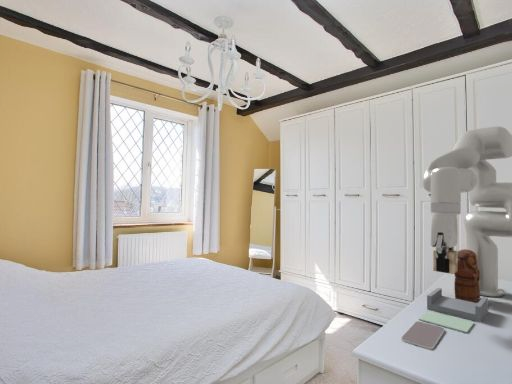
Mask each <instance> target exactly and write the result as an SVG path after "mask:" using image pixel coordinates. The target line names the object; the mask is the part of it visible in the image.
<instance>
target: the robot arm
mask: <svg viewBox="0 0 512 384" xmlns="http://www.w3.org/2000/svg"><path fill="white" fill-rule="evenodd" d="M511 157H512V133H511V132H510V131H509V130H508V129H507V128H505V127H503V126H497V125H496V126H490V127H482V128H477V129H469V130H466V131H464V132H462V133H461V134H460V135H459V137H458V138H457V140H456V142H455V144H454V146H453V148H452V150H450V151H449V152H446V153H445V154H443V155H440V156H439V157H437V158H435V159H434V160H433V161H431V162H430V163H429V164H428V166H427V168H426V170H425V171H424V174H423V176H422V186H423V187H422V188H424V190H425V191H426V192H428V193H430V214H431V215H432V218H431V229H430V246H431V247H432V248H435V250H436V271H435V272H437V271H438V272H437V273H443V272H444V273H445V274H449V259H448V252H449V250H454V251H455V247H456V246H457V244H458V237H459V236H458V217H457V215H461V214H462V213H461V212H462V211H461V210H462V209H461V207H462V205H461V202H462V201H461V199H462V197H461V195H462V194H463V193H468V196H469V198H468V199H469V203H470V205H471V206H473V207H477V208H490V209H492V208H493V209H494V208H495V209H504V210H505V211H498V210H497V211H494V210H473V211H470V212H467V213H466V214H465V216H464V218H463V222H464V227H465V234H466V246H467V249H466V250H471V251H473V252H474V253H475V254H476V259H477V266H478V268H477V269H478V270H479V273H480V278H479V281H478V283H479V289H480V294H479V295H480V296H482V297H491V298H493V297H497V298H498V297H502V296H504V291H503V290H501V289H499V260H498V258H499V255H498V254H499V251H498V250H499V249H498V247H497V244H496V243H495V242H494V240H492V238H491V237H497V238H498V237H501V238H512V182H498V181H497V170H496V168H495V167H494V166H493V165H492V164H491V163H490V162H489V161H487V160H500V159H501V160H502V159H508V158H511ZM444 250H445V251H444Z"/></svg>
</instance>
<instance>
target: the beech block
mask: <svg viewBox="0 0 512 384" xmlns="http://www.w3.org/2000/svg"><path fill="white" fill-rule="evenodd" d="M432 251H433V252H432V253H433V255H432V256H433V268H432V269H433V272H437V273H439V272H438V271H436V249H434V250H432ZM444 251H445V250H444ZM458 251H459V250H455V249H454V250H449V252H448V259H449V273H448V274H451V275H455V274H454V273H456V272H457V271H458ZM442 273H444V272H442Z"/></svg>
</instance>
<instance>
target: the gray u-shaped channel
mask: <svg viewBox="0 0 512 384" xmlns="http://www.w3.org/2000/svg"><path fill="white" fill-rule="evenodd" d="M442 292H443V289H442V288H440V287H437V288H435V289H434V290H433V291H431V292H430V293H429V294H426V308H427V309H426V310H429V309H430V310H429V311H433V310H434V311H433V312H437V311H438V312H437V313H440V314H444V315H448V316H452V317H456V318H460V319H464V320H468V321H472V322H473V321H474V322H477V323H481V322H482V321H483V320H484V318H485V317H486V315H487V313H488V312H489V306H488V305H489V304H488V303H489V300H488V296H482V298H481V299H479V301H477V303H474V302H469V301H464V300H460V299H455V297H450V296H445V295H442V294H443V293H442Z"/></svg>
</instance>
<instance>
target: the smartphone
mask: <svg viewBox="0 0 512 384" xmlns="http://www.w3.org/2000/svg"><path fill="white" fill-rule="evenodd" d="M445 330H446V329H445V327H442V326H438V325H435V324H431V323H428V322H424V321H420V320H417V321H415V322H413V323H412V325H411V326H410V327H409V328H408V329H407V330H406V332H404V334H402V335H401V338H400V340H401V341H402V342H404V343H406V344H410V345H413V346H414V345H415V346H416V347H418V348H422V349H425V350H429V351H430V350H434V349H435V348H436V346H437V344H438V342H439V341H440V339H441V338H442V337H443V335H444V333H445V332H446V331H445Z"/></svg>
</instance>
